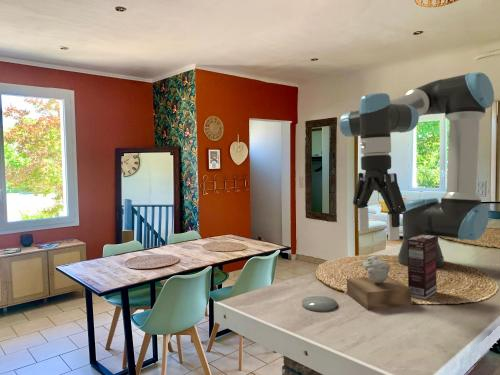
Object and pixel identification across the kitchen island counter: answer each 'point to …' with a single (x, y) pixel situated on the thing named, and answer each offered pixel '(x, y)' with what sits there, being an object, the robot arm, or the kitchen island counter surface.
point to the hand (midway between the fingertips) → (377, 235)
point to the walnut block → (378, 293)
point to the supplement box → (422, 266)
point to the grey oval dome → (319, 303)
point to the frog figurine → (376, 269)
